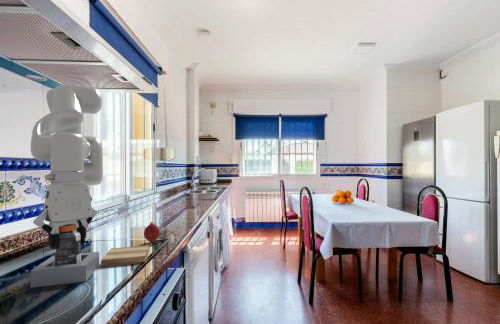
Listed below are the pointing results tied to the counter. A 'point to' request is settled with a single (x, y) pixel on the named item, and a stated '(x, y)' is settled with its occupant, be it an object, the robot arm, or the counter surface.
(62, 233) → the pill bottle
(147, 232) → the onion
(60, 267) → the socket collar
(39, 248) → the counter surface
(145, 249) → the pad
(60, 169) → the robot arm
